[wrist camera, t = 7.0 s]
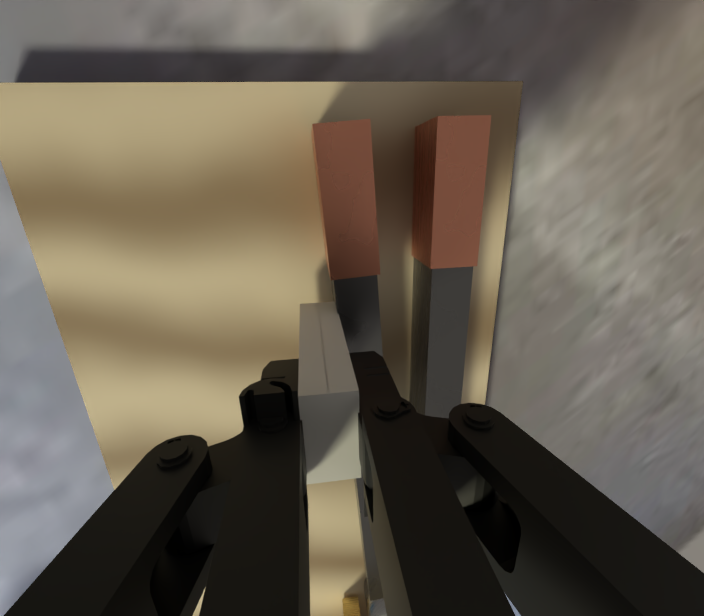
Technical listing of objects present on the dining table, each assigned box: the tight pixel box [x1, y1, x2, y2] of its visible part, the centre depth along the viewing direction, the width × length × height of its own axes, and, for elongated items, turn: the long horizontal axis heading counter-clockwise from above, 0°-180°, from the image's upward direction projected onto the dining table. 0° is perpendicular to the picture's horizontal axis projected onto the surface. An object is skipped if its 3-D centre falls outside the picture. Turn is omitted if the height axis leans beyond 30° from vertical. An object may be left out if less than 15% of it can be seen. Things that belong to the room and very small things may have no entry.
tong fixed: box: [364, 115, 491, 616], centre depth 17 cm, size 28×4×2 cm, turn 2°
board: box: [0, 81, 523, 616], centre depth 19 cm, size 33×19×2 cm, turn 2°
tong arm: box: [311, 119, 384, 601], centre depth 16 cm, size 23×2×2 cm, turn 5°
